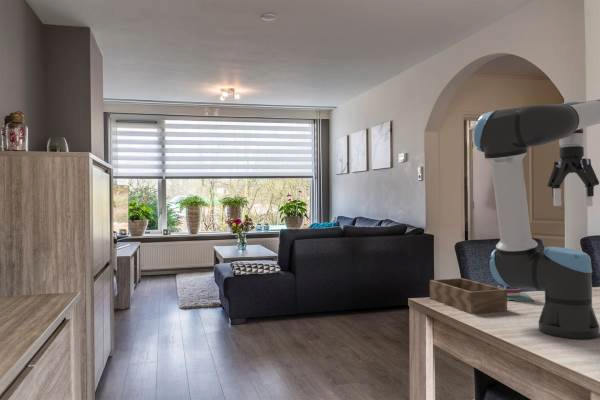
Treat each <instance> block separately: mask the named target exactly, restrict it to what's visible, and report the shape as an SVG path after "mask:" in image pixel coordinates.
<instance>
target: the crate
mask: <svg viewBox="0 0 600 400" xmlns="http://www.w3.org/2000/svg"><path fill="white" fill-rule="evenodd" d="M429 299H430V300H433V301H435V300H436V302H438V301H439V302H438V303H441V304H443V303H444V305H447V306H449V307H451V308H454V309H458V310H460V311H463V312H466V313H467V314H482V313H483V314H484V313H494V312H506V310H507V311H508V301H507V290H506V289H502V288H498V286H493V285H489V284H485V283H482V282H478V281H474V280H471V279H466V278H462V277H460V278H458V277H457V278H444V279H442V278H441V279H429Z"/></svg>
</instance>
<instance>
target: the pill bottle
mask: <svg viewBox="0 0 600 400" xmlns="http://www.w3.org/2000/svg"><path fill="white" fill-rule="evenodd" d="M497 287H498V288H502V289H506V290H507V297H517V296H519V295H520V294H521V293H522V291H521V290H522V289H521V288H511V287H508V286H503V285H500V284H499V283H498V282H497Z"/></svg>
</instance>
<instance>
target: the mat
mask: <svg viewBox="0 0 600 400" xmlns="http://www.w3.org/2000/svg"><path fill="white" fill-rule="evenodd" d="M507 300H514V301H513V302H531V301H533V302H534V299H533V298H532V297H531V296H530V295H529V294H528V293H527V292H521V294H520V295H519V296H517V297H507Z"/></svg>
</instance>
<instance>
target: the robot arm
mask: <svg viewBox="0 0 600 400" xmlns="http://www.w3.org/2000/svg"><path fill="white" fill-rule="evenodd" d="M599 124H600V99H599V98H598V99H595V100H594V99H593V100H587V101H582V102H579V101H569V102H563V103H555V104H530V105H524V106H517V107H511V108H505V109H496V110H493V111H488V112H486V113H483V114H481V115H480V116H479V118H478V119H477V122H476V123H475V126H474V129H473V142H474V145H475V147H476V150H478V151H479V152H481V153H483V154H484V160H486V161H487V162H488V163H490V165H491V175H492V176H491V177H492V182H493V190H494V191H493V192H494V199H495V206H496V214H497V215H496V216H497V223H498V233H499V241H498V243H496V245H495V249H493V251H492V252H491V254H490V260H489V266H490V267H489V268H490V273H491V275H492V277H493V280H494V281H495V282H497V284H498V283H499V284H500V285H503V286H508V287H511V288H521V290H528V291H529V290H530V291H537V292H539V291H540V292H544V305H543V307H542V310H541V313H540V315H539V319H538V330H539V331H540V332H542V333H544V334H546V335H550V336H555V337H559V338H560V337H561V338H566V339H578V340H580V339H581V340H586V339H587V340H589V339H596V338H598V337H600V324H599V321H598V318H597V317H596V314H595V311H594V310H595V309H594V308H593V277H592V275H593V268H592V259H591V256H590V255H589V254H588V253H586V252H584V251H582V250H578V249H573V248H568V247H559V246H547V247H544V250H542V251H541V250H539V244H538V242H537V241H536V240H535V239H533V238H532V232H531V224H530V215H529V206H528V199H527V198H528V197H527V196H528V195H527V188H526V181H525V171H524V164H523V163H524V162H523V159H524V157H526V156H527V154H528V148H534V147H539V146H544V145H547V144H549V143H554V142H556V141H559V142H558V143H559V147H560V148H559V158H560V159H561V161H554V162H553V168H552V171H551V174H550V176H549V179H548V183H547V187H548V188H549V187H550V188H551V189H552V198H553V207H562V188H561V187H560V186H561V185H562V183H563V182H564V181H565V179H566V178H567V176H568V175H569V174H573V173H574V174H577V176H578V177H579V179H580V180H581V181H582V183H583V184H584V185H585V186H584V187H583V199H584V200H583V201H584V202H583V204H584V205H583V207H593V197H594V187H595V186H598V185H599V184H600V181H599V179H598V177H597V174H596V172H595V170H594V168H593V166H592V162H591V161H592V160H591V159H590V158H583V157H584V156H585V154H584V151H585V148H584V146H583V145H584V129H585V128H589V127H591V126H595V125H599Z"/></svg>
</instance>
